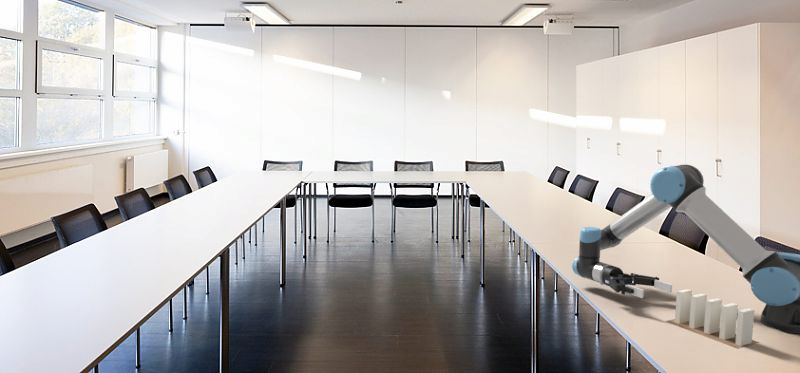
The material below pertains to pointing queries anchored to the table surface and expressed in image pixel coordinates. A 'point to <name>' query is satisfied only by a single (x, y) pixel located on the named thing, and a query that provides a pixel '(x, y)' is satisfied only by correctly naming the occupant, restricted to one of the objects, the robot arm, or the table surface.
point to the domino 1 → (683, 306)
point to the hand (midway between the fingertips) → (657, 291)
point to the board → (713, 335)
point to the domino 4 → (728, 321)
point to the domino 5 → (744, 326)
